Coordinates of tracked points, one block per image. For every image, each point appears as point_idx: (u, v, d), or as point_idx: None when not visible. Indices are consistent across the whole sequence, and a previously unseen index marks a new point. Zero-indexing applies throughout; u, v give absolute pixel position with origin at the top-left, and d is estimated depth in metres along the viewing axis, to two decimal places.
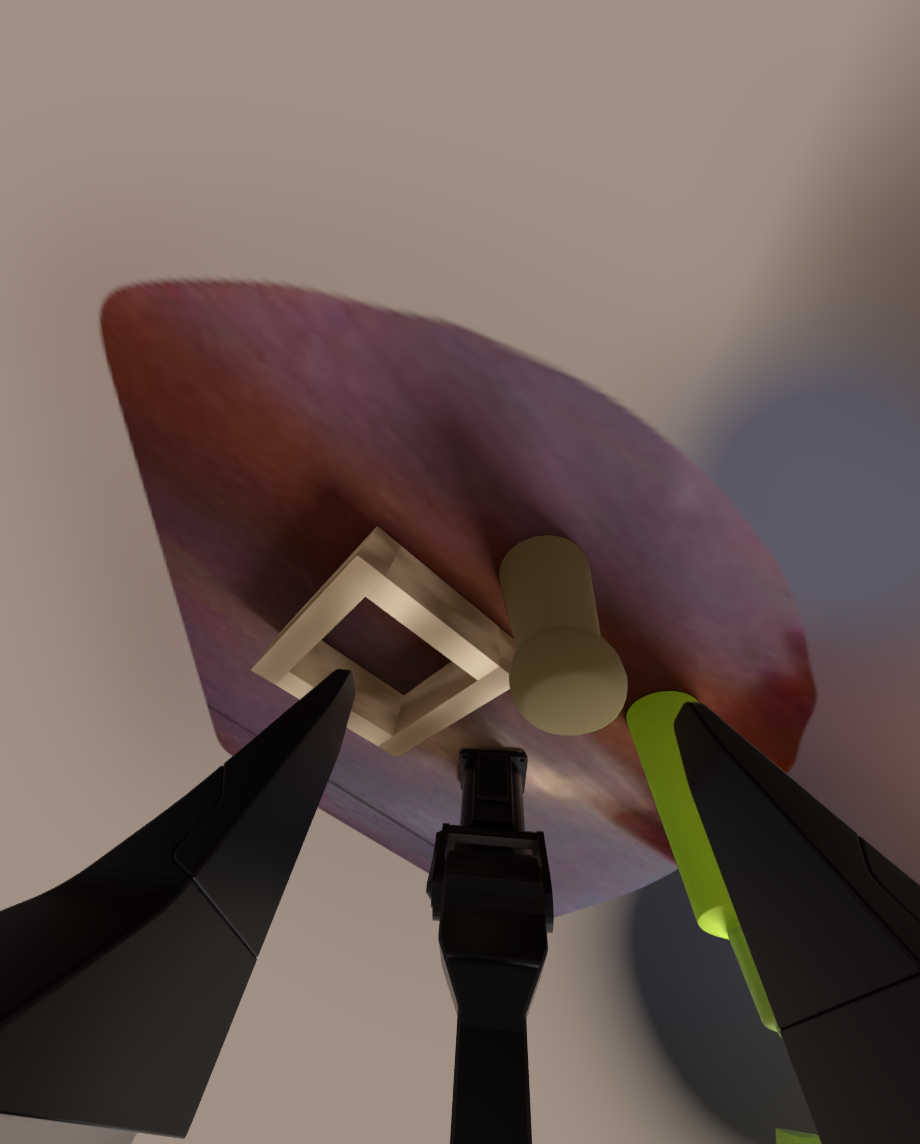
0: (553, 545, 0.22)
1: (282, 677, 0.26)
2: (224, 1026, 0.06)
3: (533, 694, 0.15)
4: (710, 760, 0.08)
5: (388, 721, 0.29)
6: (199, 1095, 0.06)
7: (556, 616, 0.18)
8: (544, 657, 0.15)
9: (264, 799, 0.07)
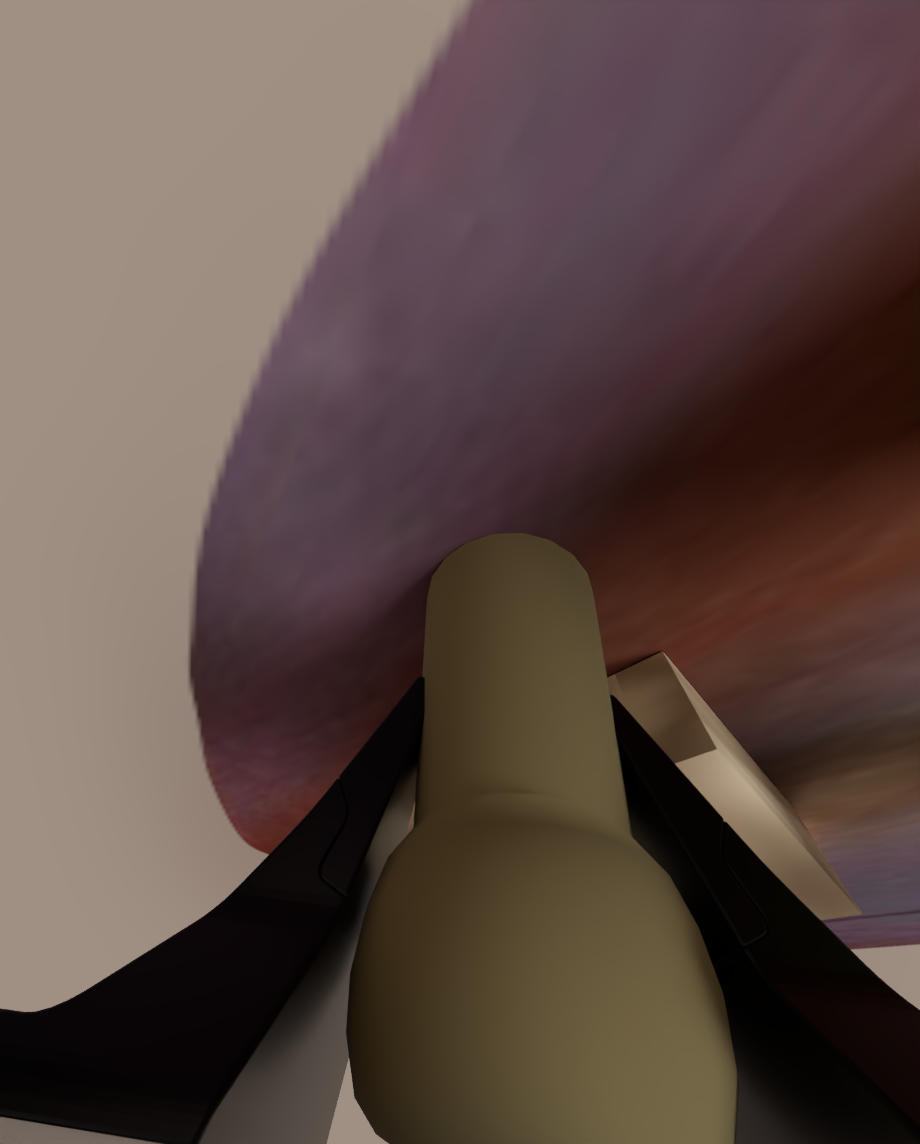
0: (427, 614, 0.12)
1: None
2: None
3: None
4: None
5: None
6: (332, 1116, 0.06)
7: None
8: None
9: (386, 813, 0.06)
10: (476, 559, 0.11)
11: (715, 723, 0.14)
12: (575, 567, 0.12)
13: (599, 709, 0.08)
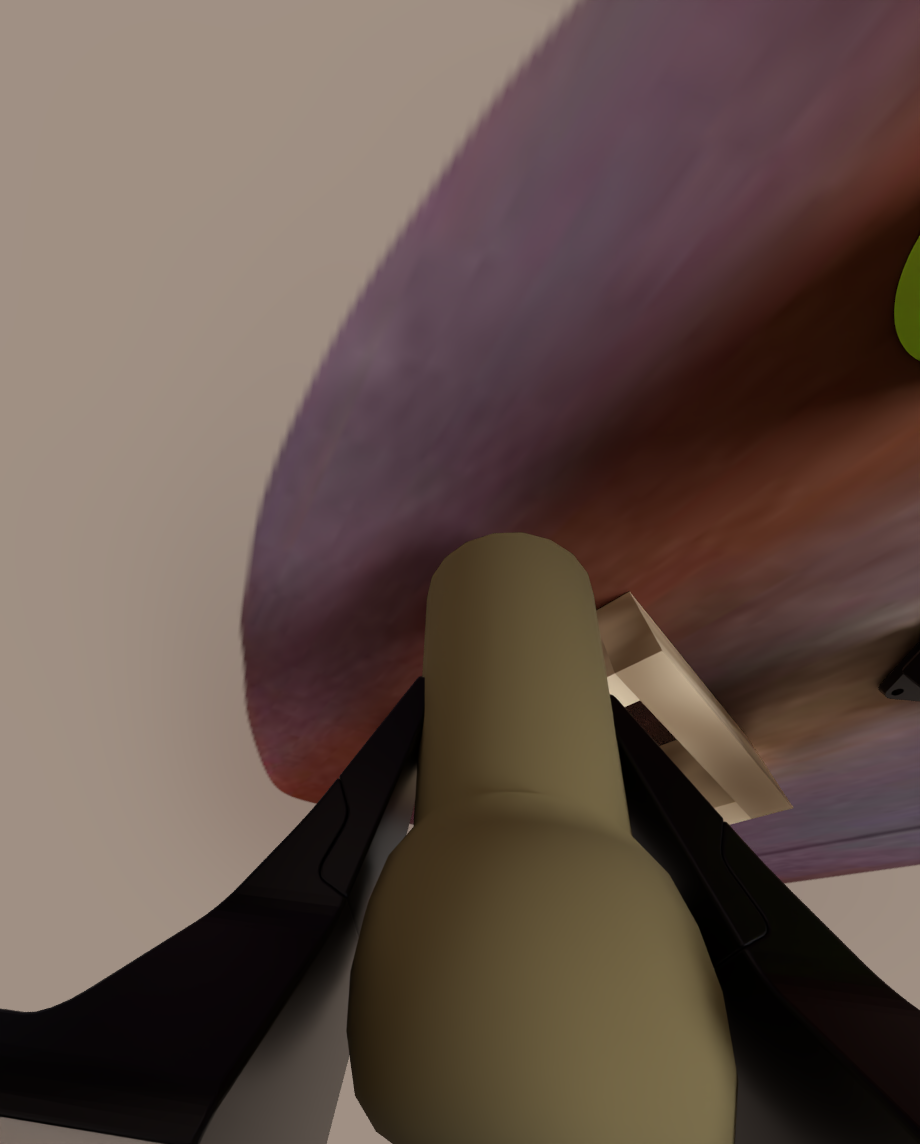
0: (427, 613, 0.12)
1: None
2: None
3: None
4: None
5: (711, 787, 0.20)
6: (332, 1117, 0.06)
7: None
8: None
9: (386, 813, 0.06)
10: (476, 559, 0.11)
11: (671, 648, 0.17)
12: (575, 567, 0.12)
13: (598, 709, 0.08)
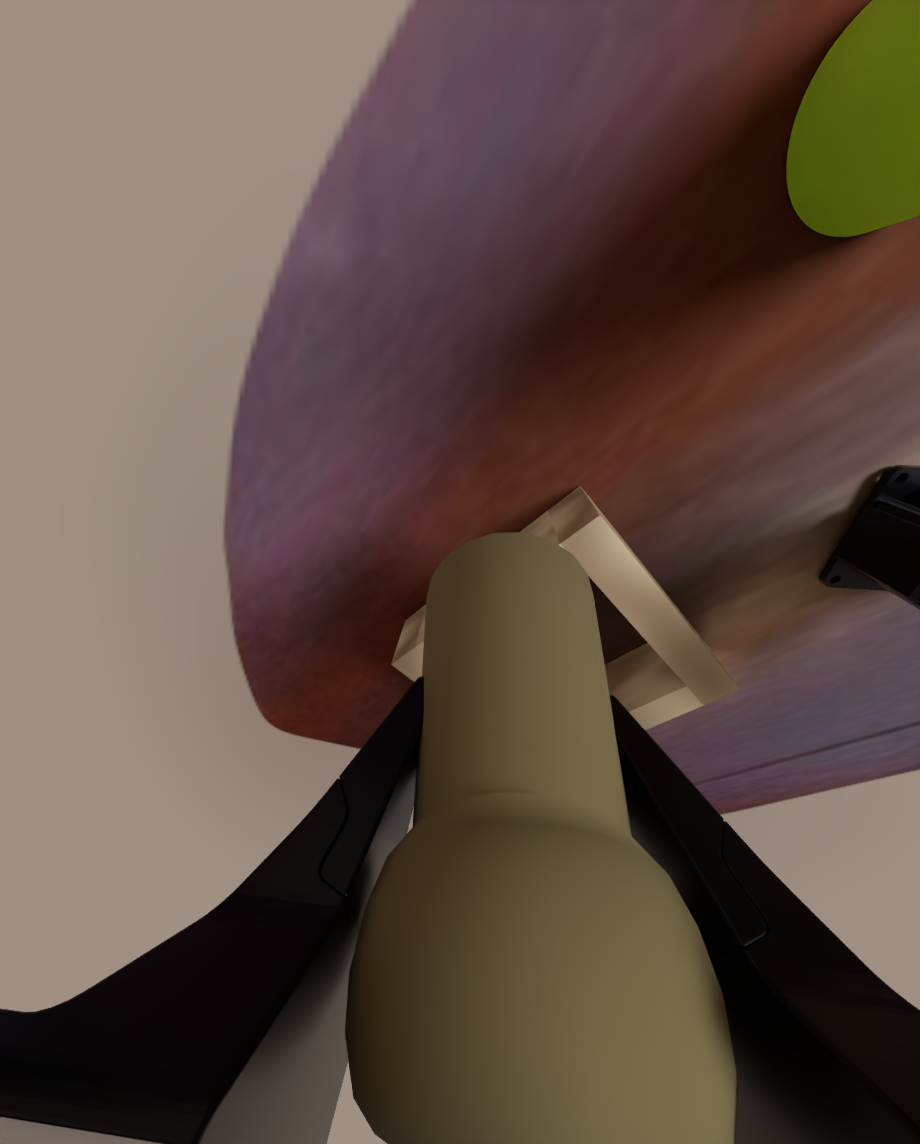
0: (426, 613, 0.12)
1: None
2: None
3: None
4: None
5: (666, 679, 0.21)
6: (332, 1116, 0.06)
7: None
8: None
9: (386, 813, 0.06)
10: (475, 559, 0.11)
11: (619, 536, 0.18)
12: (575, 566, 0.12)
13: (598, 709, 0.08)
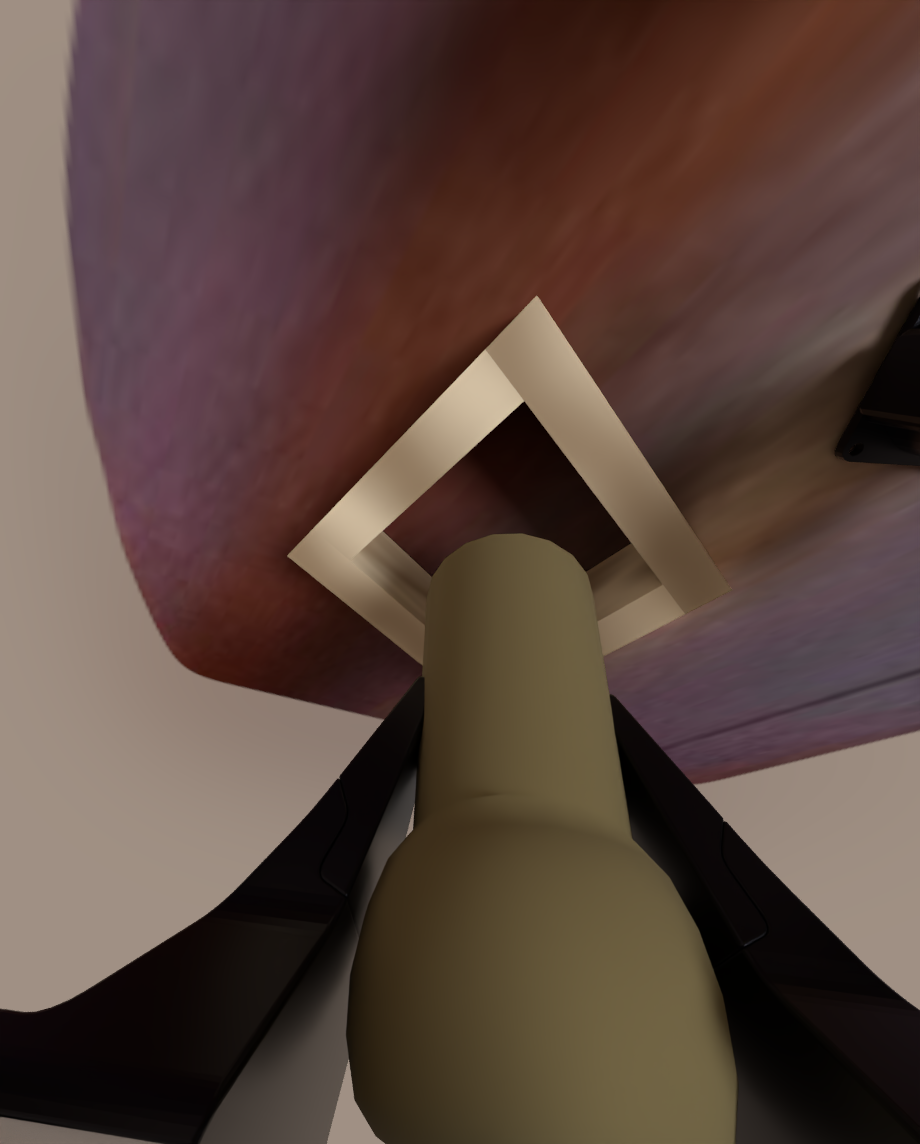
0: (426, 614, 0.12)
1: None
2: None
3: None
4: None
5: (639, 582, 0.16)
6: (332, 1117, 0.06)
7: None
8: None
9: (386, 813, 0.06)
10: (476, 560, 0.11)
11: None
12: (575, 568, 0.12)
13: (598, 711, 0.08)
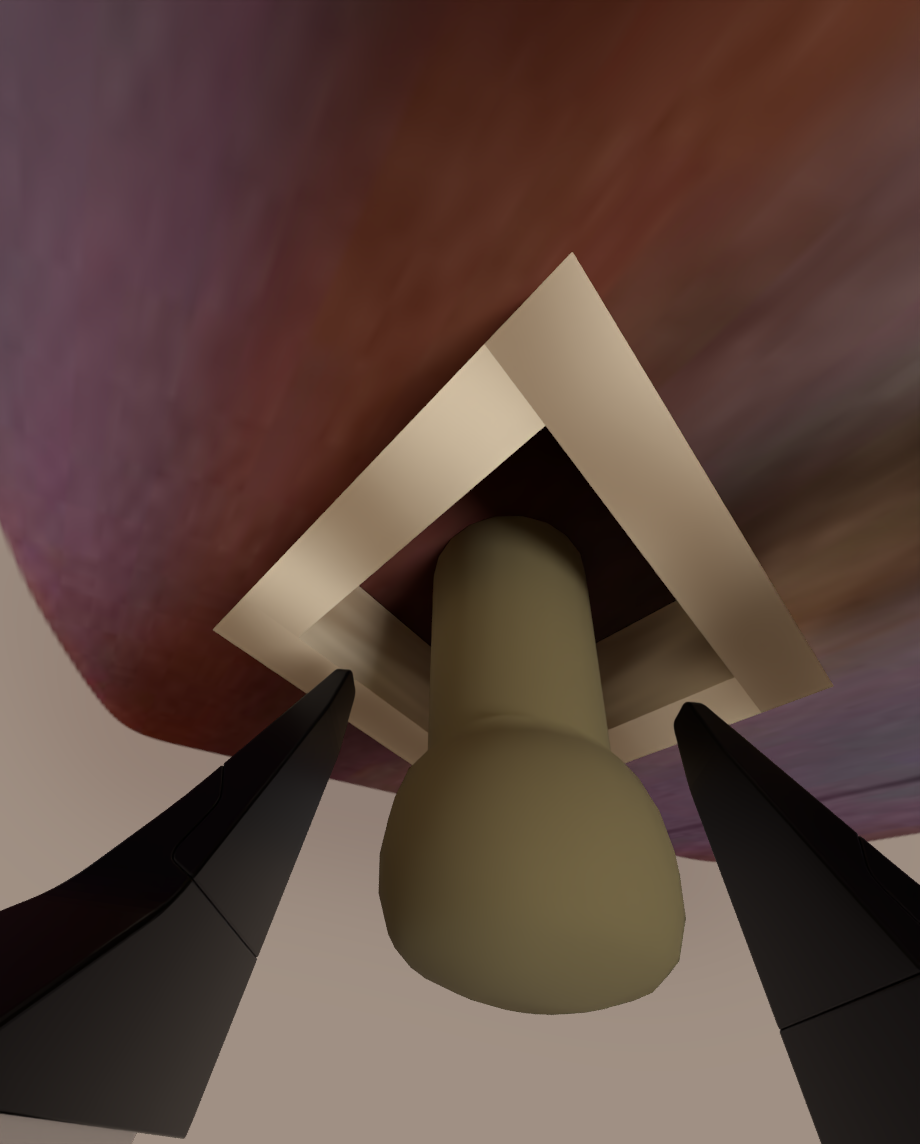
0: (434, 589, 0.14)
1: None
2: (224, 1026, 0.06)
3: None
4: (710, 760, 0.08)
5: (695, 665, 0.12)
6: (199, 1095, 0.06)
7: None
8: None
9: (264, 799, 0.07)
10: (480, 538, 0.12)
11: None
12: (568, 547, 0.13)
13: (585, 660, 0.09)
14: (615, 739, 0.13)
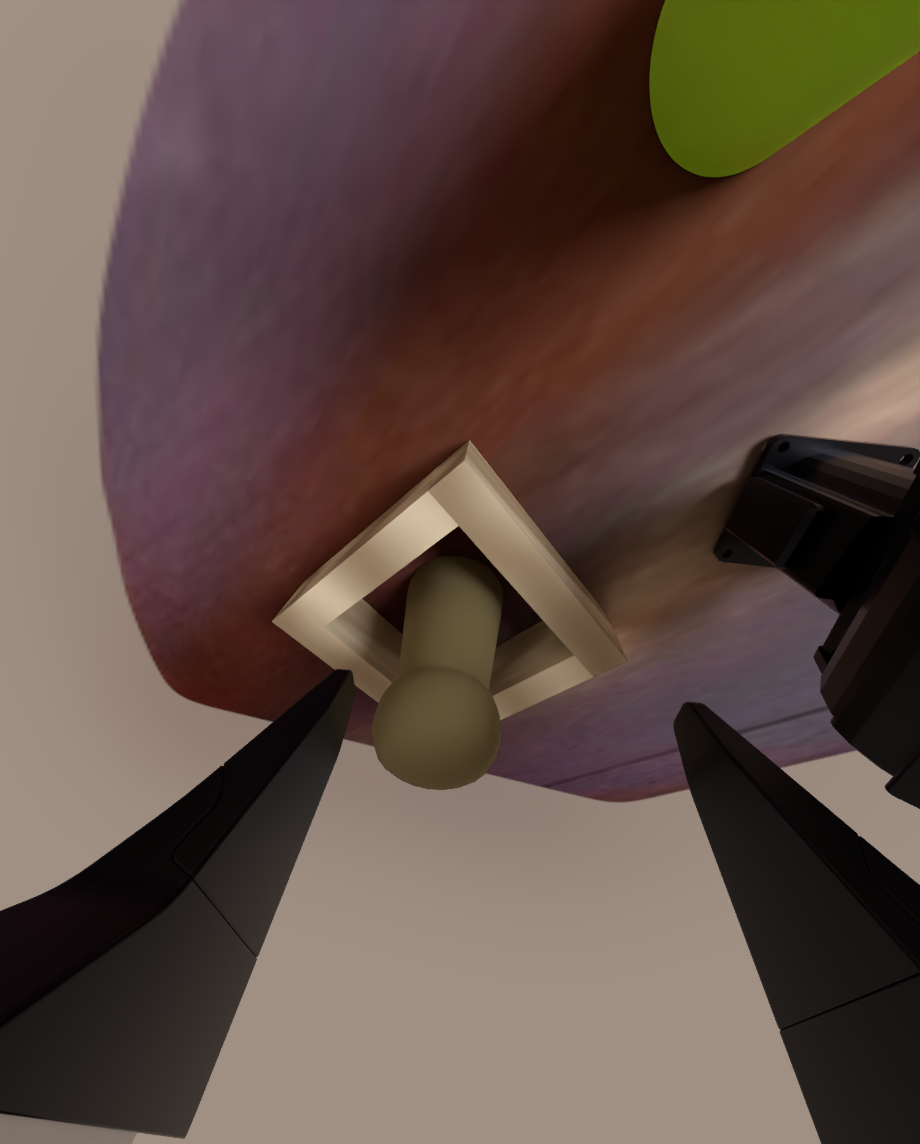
0: (407, 599, 0.22)
1: None
2: (224, 1026, 0.06)
3: (412, 784, 0.14)
4: (710, 760, 0.08)
5: (559, 649, 0.20)
6: (199, 1095, 0.06)
7: None
8: None
9: (264, 799, 0.07)
10: (435, 570, 0.21)
11: (506, 494, 0.18)
12: (489, 576, 0.21)
13: (481, 641, 0.17)
14: (514, 694, 0.21)
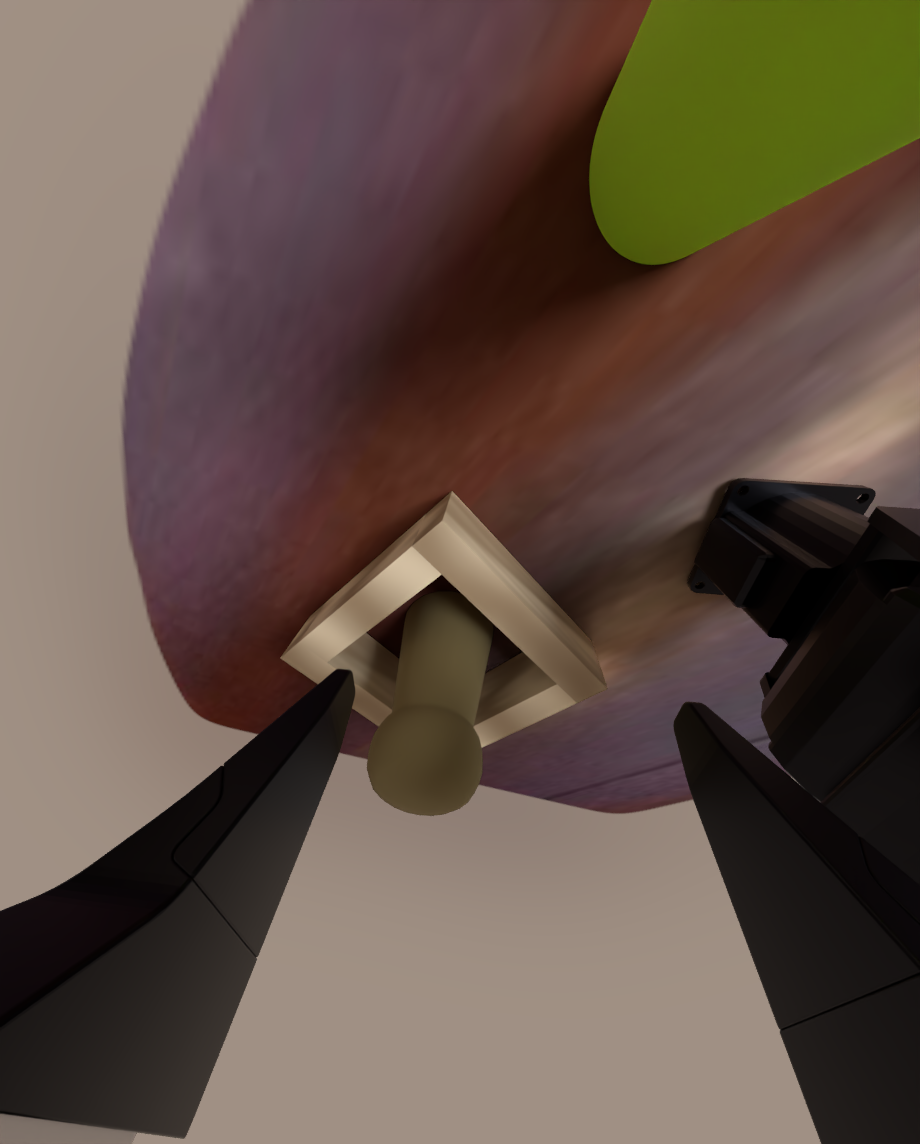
0: (403, 632, 0.24)
1: None
2: (224, 1026, 0.06)
3: (404, 810, 0.16)
4: (710, 760, 0.08)
5: (544, 677, 0.22)
6: (199, 1095, 0.06)
7: None
8: None
9: (264, 799, 0.07)
10: (427, 606, 0.22)
11: (486, 539, 0.19)
12: (478, 609, 0.23)
13: (467, 676, 0.19)
14: (504, 718, 0.23)
